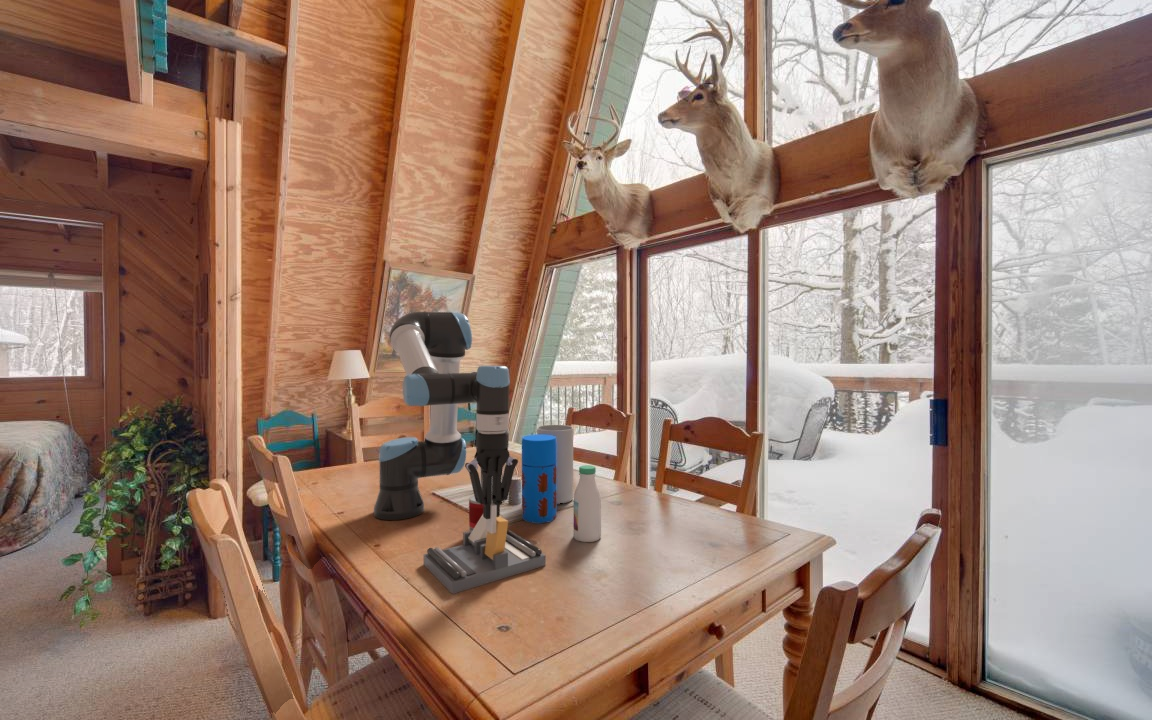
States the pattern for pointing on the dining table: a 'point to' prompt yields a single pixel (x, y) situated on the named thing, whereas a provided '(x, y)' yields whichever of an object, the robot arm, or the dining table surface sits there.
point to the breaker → (479, 531)
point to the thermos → (539, 478)
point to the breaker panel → (481, 562)
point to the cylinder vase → (562, 459)
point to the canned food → (474, 512)
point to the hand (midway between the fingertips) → (491, 531)
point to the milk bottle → (587, 506)
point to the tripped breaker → (496, 538)
